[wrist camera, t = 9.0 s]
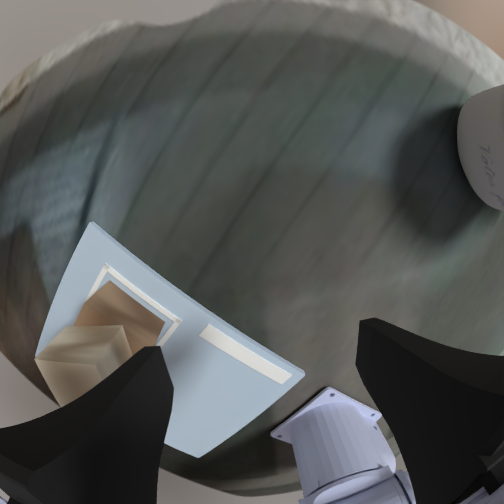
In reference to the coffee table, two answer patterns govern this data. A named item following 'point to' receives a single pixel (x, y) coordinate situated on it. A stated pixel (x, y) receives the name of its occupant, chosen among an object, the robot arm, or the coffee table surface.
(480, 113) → the teacup
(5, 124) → the coffee table surface
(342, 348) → the coffee table surface
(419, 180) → the coffee table surface
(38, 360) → the maple block
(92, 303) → the walnut base
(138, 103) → the coffee table surface
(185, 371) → the board
